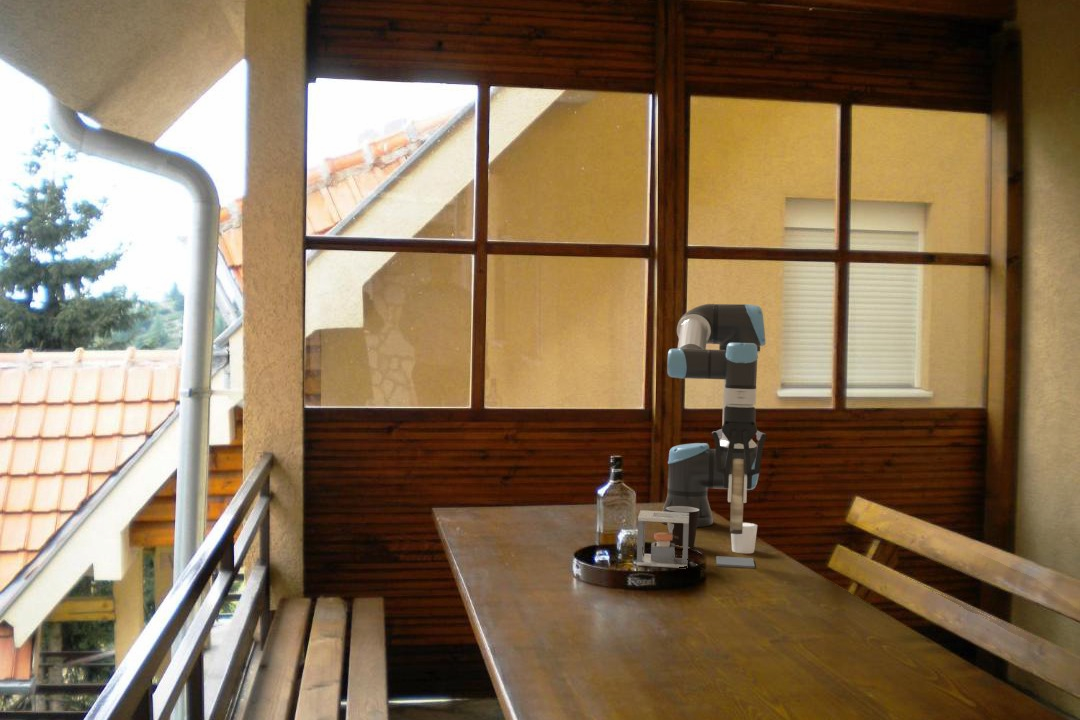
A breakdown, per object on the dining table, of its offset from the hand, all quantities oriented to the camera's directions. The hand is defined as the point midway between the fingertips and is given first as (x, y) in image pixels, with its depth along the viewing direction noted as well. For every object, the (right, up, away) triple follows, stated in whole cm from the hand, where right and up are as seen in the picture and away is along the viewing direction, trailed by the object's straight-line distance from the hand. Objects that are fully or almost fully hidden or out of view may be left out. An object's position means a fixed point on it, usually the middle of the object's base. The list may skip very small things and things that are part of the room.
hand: (737, 501), depth 253 cm
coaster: (0, -15, +1) cm, 15 cm away
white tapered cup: (+4, -15, +15) cm, 22 cm away
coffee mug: (-11, -15, +19) cm, 27 cm away
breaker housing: (-18, -15, -1) cm, 23 cm away
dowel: (0, -8, 0) cm, 8 cm away
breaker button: (-18, -14, -1) cm, 23 cm away
